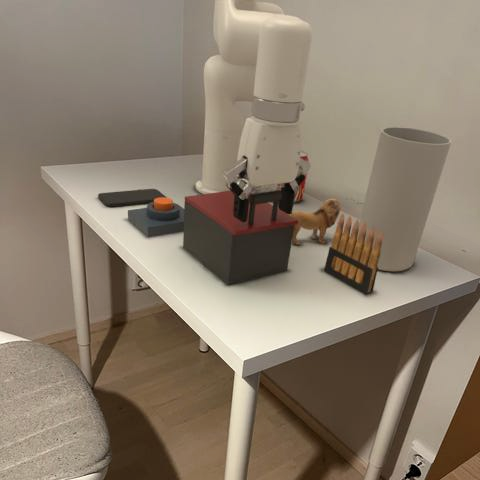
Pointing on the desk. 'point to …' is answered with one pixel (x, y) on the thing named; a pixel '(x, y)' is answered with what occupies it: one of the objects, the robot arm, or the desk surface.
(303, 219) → the lion figurine
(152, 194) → the phone
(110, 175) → the desk surface
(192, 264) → the desk surface
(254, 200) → the lid
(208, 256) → the dark grey box
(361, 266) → the ammunition clip
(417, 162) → the cylinder vase
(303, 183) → the soda can
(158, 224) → the control block
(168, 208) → the button
